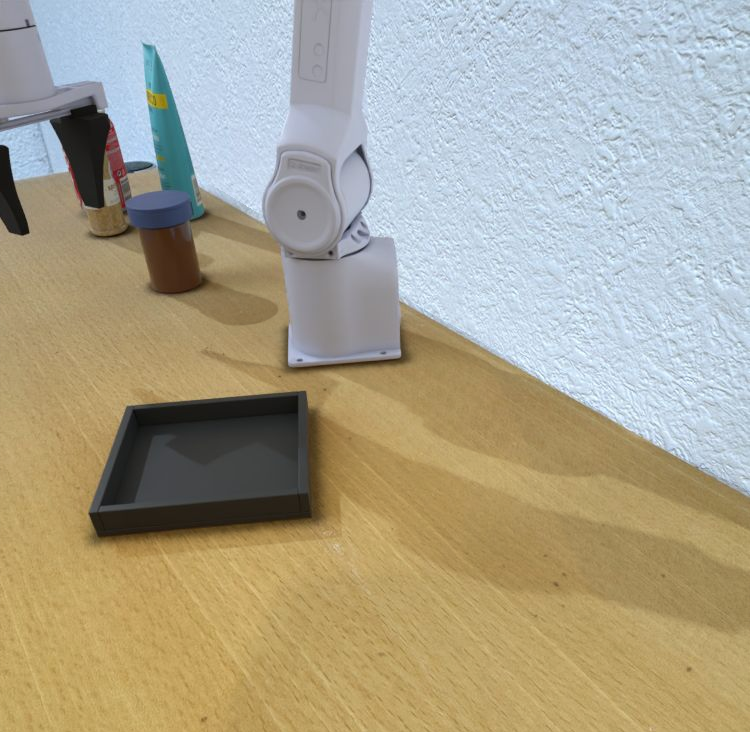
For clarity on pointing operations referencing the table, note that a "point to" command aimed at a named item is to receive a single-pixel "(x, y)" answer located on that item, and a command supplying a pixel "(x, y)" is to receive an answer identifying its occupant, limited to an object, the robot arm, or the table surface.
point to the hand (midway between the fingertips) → (58, 219)
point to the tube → (168, 132)
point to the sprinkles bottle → (107, 208)
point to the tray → (206, 465)
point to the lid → (159, 209)
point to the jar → (171, 258)
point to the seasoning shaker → (116, 167)
